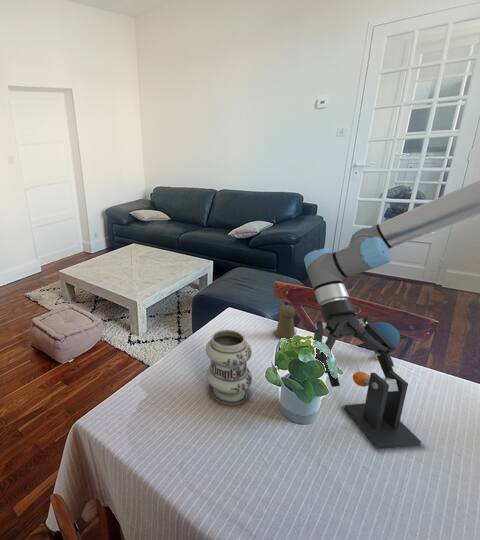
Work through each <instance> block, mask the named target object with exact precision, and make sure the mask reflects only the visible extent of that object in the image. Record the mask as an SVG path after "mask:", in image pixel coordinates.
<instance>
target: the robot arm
mask: <svg viewBox="0 0 480 540" xmlns="http://www.w3.org/2000/svg"><path fill="white" fill-rule="evenodd" d="M479 215H480V179H479V180H476V181H474V182H471V183H470V184H467V185H465V186H462V187H461V188H458V189H456V190H453V191H450V192H449V193H447V194H444V195H442V196H440V197H438V198H435V199H433V200H430V201H428V202H426V203H424V204H420V205H419V206H417V207H414V208H412V209H409V210H408V211H407V210H406V211H405V212H403V213H401V214H398V215H396V216H394V217H392V218H389V219H387V220H385V221H382V222H380V223H378V224H375V225H372V226H371V227H362V228H360V229H358V230H356V231H355V232H354V234H352V236H351V237H350V241H349V243H348V246H347V247H344V248H342V249H340V250H338V251H335V252H332V250H330V249H329V248H320V249H317V250H316V249H315V250H313V251H310V252H308V253H307V254H306V255H305V256H304V258H303V261H304V265H305V269H306V270H305V272H306V273H307V276H308V278H309V281H310V284H311V286H312V289H313V292H314V295H315V298H316V301H317V305H319V306H320V307H319V311H320V313H321V315H322V318H323V320H324V321H323V322H322V321H321V320H318V321H316V322H314V323H313V330H314V333H313V339H312V341H313V340H317V341H319V342H321V344H322V343H323V337H324V330H325V329H326V330H328V331H329V333H328V335H327V338H326V341H325V342H324V344H326V345H327V346H328V347H329V349H330V352H331V351H332V349H333V347H334V345H335V343H336V341H337V339H343V338H350V337H354V338H356V339H358V340H359V341H361V342H362V343H364V344H365V345H366V346H367V347H369V348H370V349H372V350H375V351H376V352H377V353H379V354H380V355H378V356H377V358H378V359H377V360H378V363H379V365H380V368H381V370H382V373H383V375H384V378H388V373H389V371H394V369H393V367H395V366H394V365H395V364H394V361H393V359H392V357H391V353H392V352H393V351H396V350H397V347H395V346H394V345H393V344H392V343H391V342H390V341H389V340H388V339H387V338H386V337H385V336H384V335H383V334H382V333H381V332H380V331H379V330H378V329H377V328H376V327H375V326H374V325H373V323H374V322H373V321H372V319H371V317H370V316H365V317H362V318H357V315H356V311H355V309H354V305H353V303H352V301H351V300H350V295H349V292H348V290H347V288H346V286H345V283H344V281H343V280H344V279H346V278H348V277H352V276H354V275H358V274H361V273H364V272H367V271H370V270H373V269H378V268H380V267H381V266H384V265H387V264H390V263H391V261H392V255H391V251H390V249H392V248H395V247H397V246H400V245H402V244H405V243H408V242H410V241H413V240H416V239H419V238H421V237H423V236H426V235H428V234H431V233H434V232H437V231H440V230H443V229H445V228H447V227H450V226H453V225H455V224H458V223H461V222H463V221H466V220H468V219H471V218H474V217H477V216H479ZM365 330H366V331H367V332H368V333H369V334H370V335H371V336H372V337H373V338H374V339H373V338H372V337H371V336H369V335H368V334H366V333H365ZM316 353H317V354H316V357H315V359H314V360H317V361H318V360H319V361H318V362H320V361H321V362H322V363H324V365H325V368H326V371H325V373H324V374H327V376H328V379H329V383H330V386H331V388H336V387H341V383H340V381H339V377H338V376H337V378H336V379H335V378H333V377H332V376H331V374H330V371H329V369H328V365H327V363H326V360H327V359H328V358H327V357H326V355H325V354H324V353H323V352H321V349H320V350H319V349H317V348H316Z"/></svg>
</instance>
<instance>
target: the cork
mask: <svg viewBox="0 0 480 540" xmlns="http://www.w3.org/2000/svg"><path fill="white" fill-rule="evenodd" d="M278 315H279V318H278V321H277V326H276V331H275V336H276V337H278V338H279V339H281V338H286V339H290V338H292V337H293V336H294V335H295V336H296V331H295V320H294V318H295V315H296V308H294V306H292V305H288V304H282V305H281V306H279V308H278ZM286 339H285V340H286ZM290 340H291V339H290Z"/></svg>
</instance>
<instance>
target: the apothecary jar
mask: <svg viewBox="0 0 480 540" xmlns="http://www.w3.org/2000/svg"><path fill="white" fill-rule="evenodd" d="M204 351H205V354H206V356H207V357H208V358H209V361H210V362H209V363H210V365H208V368H207V369H206V373H205V377H206V381H207V382H208V384H209V385H210V386H211V387H210V394H211V396H212V397H213V398H214V399H215V400H216V401H217V402H218V403H221V404H225V405H229V406H232V405H238V404H241V403H243V402H245V401H246V399H247V398H248V390H247V389H248V388H249V387H250V386H251V384H252V380H253V375H252V373H251V371H250V369H249V368H248V364H247V362H248V361H249V360H250V359H251V357H252V352H253V351H252V347H251V345H250V344H249V343H248V342H247V341H246V337H245V336H244V335H243V334H242V333H241V332H240V331H236V330H234V329H233V330H232V329H221V330H218V331H215V332H213V333H212V334H211V339H210V340H208V341H207V343H206V345H205V350H204Z"/></svg>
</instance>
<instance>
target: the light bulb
mask: <svg viewBox="0 0 480 540" xmlns="http://www.w3.org/2000/svg"><path fill="white" fill-rule="evenodd" d="M372 323H373V325H374V326H375V327H376V328H377V329H378V330H379V331H380V332H381V333H382V334H383V335H384V336H385V337H386V338H387V339H388V340H389V341H390V342H391V343H392V344H393V345H394V346H395V347H396V348H397V347H398V346H399V344H400V342H401V335H400V332H399V331H398V329H397V328H396V327H395V326H394V325H392V324H391V323H388V322H384V321H376V322H372ZM364 331H365V333H366V334H368V335H369V336H371V335H370V334H369V333H368V332H367V331H366V330H365V329H364ZM371 337H372V336H371ZM372 338H373V337H372ZM373 339H374V338H373ZM372 350H373V349H372ZM372 352H373V357H374V359H376V360H378V358H377V356H378V355H380V354H379V353H377V352H376V351H375V350H373V351H372Z"/></svg>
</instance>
